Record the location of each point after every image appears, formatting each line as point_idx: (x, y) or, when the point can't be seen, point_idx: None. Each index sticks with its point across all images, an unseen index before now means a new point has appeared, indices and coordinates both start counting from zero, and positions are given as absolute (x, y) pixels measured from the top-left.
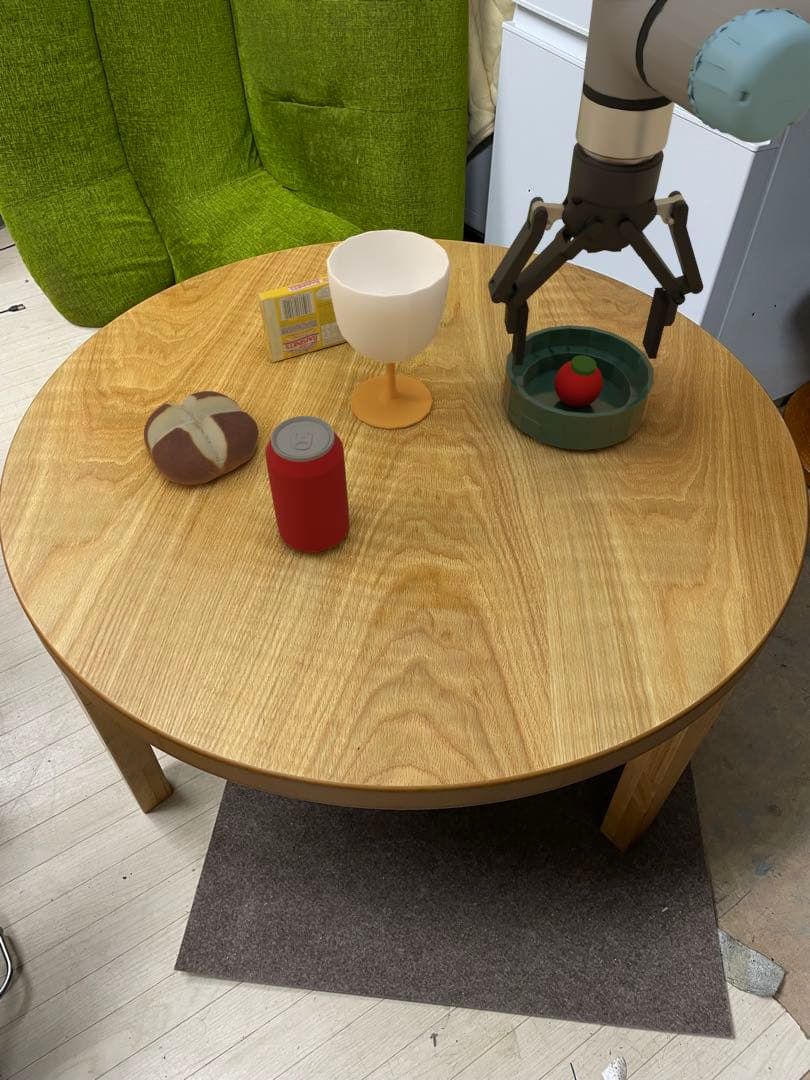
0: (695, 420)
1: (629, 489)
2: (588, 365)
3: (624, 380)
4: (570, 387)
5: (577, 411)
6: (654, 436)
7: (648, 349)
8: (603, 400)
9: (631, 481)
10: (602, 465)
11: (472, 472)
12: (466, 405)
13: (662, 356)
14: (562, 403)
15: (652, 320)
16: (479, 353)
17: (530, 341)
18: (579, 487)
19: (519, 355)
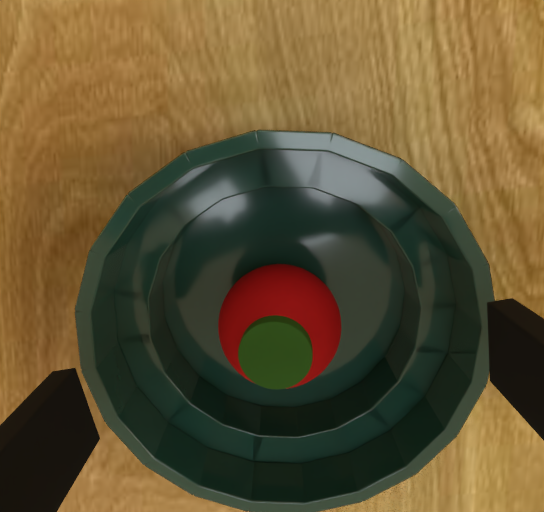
0: (15, 277)
1: (152, 18)
2: (261, 348)
3: (166, 359)
4: (307, 286)
5: None
6: (101, 215)
7: (71, 398)
8: (215, 312)
9: (148, 49)
10: (217, 101)
11: (533, 38)
12: (524, 277)
13: (94, 464)
14: None
15: (20, 500)
16: (478, 443)
17: (409, 450)
18: (272, 11)
19: (527, 315)
